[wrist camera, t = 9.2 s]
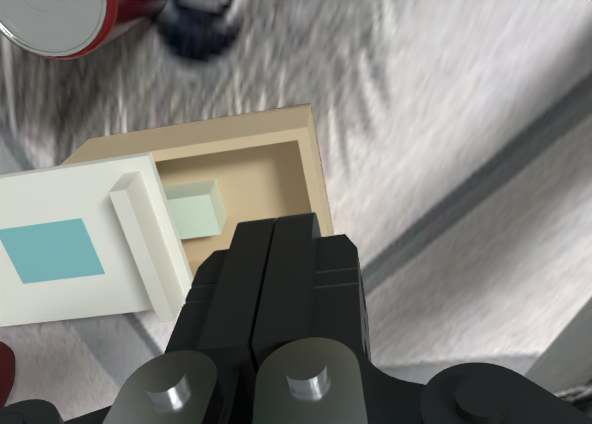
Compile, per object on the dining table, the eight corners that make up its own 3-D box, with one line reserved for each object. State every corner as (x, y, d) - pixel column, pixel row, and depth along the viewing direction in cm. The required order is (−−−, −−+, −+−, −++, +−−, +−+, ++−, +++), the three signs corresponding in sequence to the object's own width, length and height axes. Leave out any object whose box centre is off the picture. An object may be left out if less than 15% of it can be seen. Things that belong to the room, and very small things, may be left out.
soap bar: (216, 178, 44) (209, 194, 41) (227, 216, 46) (220, 234, 43) (157, 186, 45) (147, 202, 42) (170, 224, 46) (160, 242, 44)
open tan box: (310, 103, 41) (307, 127, 36) (336, 247, 47) (336, 283, 43) (88, 139, 44) (59, 165, 39) (140, 271, 50) (120, 308, 45)
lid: (151, 151, 38) (133, 174, 35) (200, 299, 44) (189, 330, 41) (-77, 186, 41) (-113, 210, 37) (-1, 321, 47) (-26, 352, 43)
